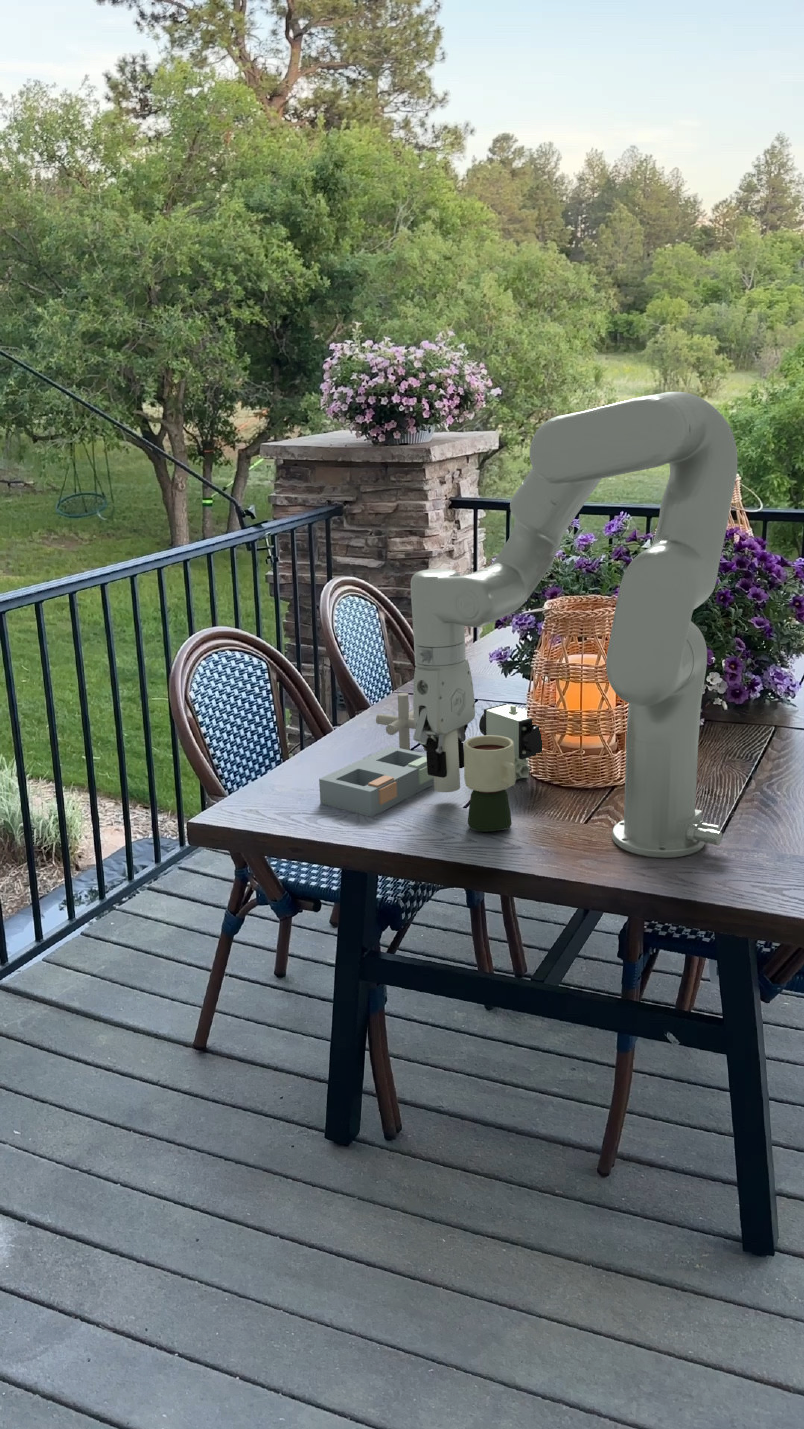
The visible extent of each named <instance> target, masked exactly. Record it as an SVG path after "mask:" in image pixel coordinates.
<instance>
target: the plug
mask: <svg viewBox="0 0 804 1429" xmlns="http://www.w3.org/2000/svg"><path fill="white" fill-rule="evenodd" d="M431 730H432V729H431ZM431 738H432V739H433V740H434V741H435V742H436V736H434V735H431ZM443 751H444V752H446V767H447V776H446V777H444V778H441V777H436V776H433V779H434V784H433V789H434V790H435V791H436V792H439V793H452V792H456V791H459V790H460V788H461V778H460V774H461V773H460V768H459V752H458V732H457V729H456V730H454V731H451V732H449V733H447V734H445V735H444V738H443Z"/></svg>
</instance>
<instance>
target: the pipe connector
mask: <svg viewBox="0 0 804 1429" xmlns="http://www.w3.org/2000/svg"><path fill="white" fill-rule="evenodd" d="M409 703H410V698H409V693H408V692H399V693H397V708H398V709H397V711H398V712H397V713H398V715H391V714H384V713H383V714H382V713H378V714H377V715H376V717H375V722H376V724H377V725H381V726H386V727H385V732H386V733H387V735H389V736H393V735H395V734H397V733H398V741H399V742H398V744H399V745H398V748H401V749H406V750H410V751H411V743H410V741H411V739H410V738H411V736H410V735H411V734H410V729H411V730H415V729H416V727H415V722H414V710H411V711H410V706H409Z"/></svg>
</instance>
